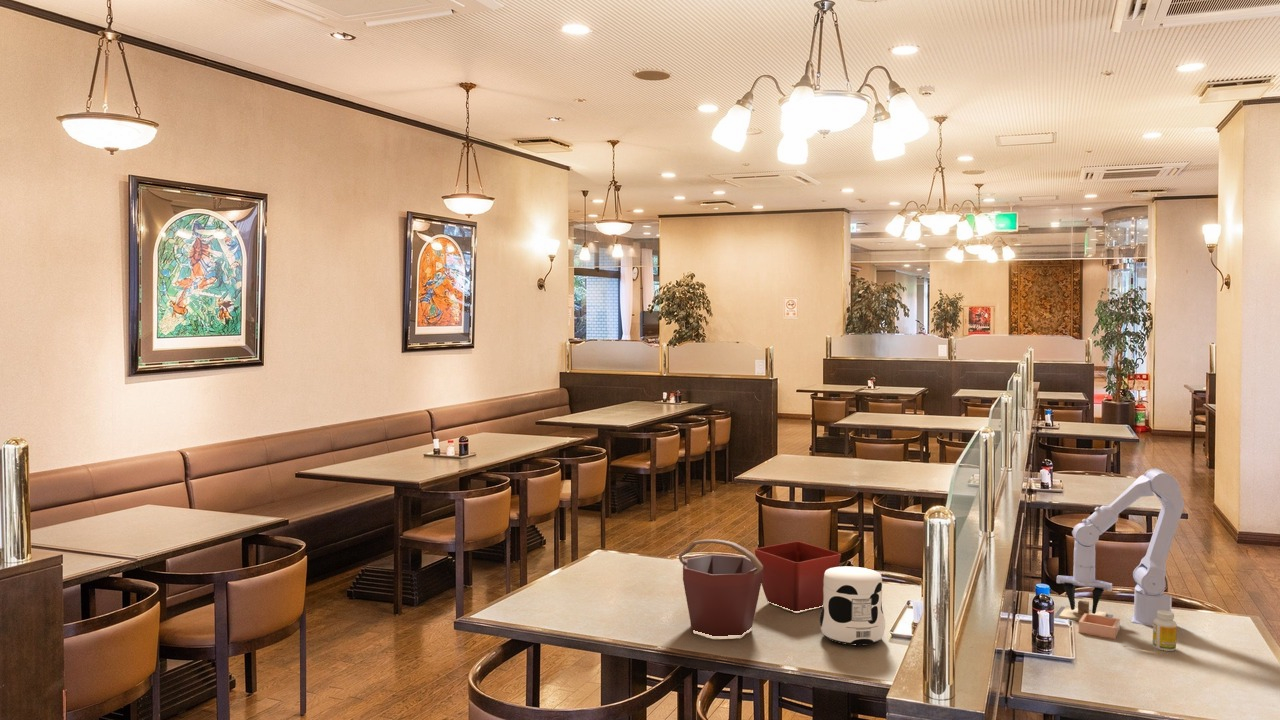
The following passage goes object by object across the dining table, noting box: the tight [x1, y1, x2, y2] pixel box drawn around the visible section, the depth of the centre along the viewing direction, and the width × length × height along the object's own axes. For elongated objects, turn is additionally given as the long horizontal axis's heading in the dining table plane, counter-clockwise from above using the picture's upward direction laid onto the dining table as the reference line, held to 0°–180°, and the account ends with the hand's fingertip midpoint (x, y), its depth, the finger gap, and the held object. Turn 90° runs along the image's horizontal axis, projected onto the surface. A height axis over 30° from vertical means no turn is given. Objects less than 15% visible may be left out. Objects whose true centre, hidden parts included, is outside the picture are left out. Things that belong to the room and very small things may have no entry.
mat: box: [1054, 605, 1114, 622], centre depth 264 cm, size 14×12×1 cm
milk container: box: [819, 565, 886, 646], centre depth 245 cm, size 17×17×18 cm
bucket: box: [677, 538, 763, 636], centre depth 253 cm, size 24×22×25 cm
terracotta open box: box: [1078, 613, 1121, 640], centre depth 251 cm, size 9×9×4 cm
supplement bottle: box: [1152, 610, 1178, 652], centre depth 239 cm, size 5×5×10 cm
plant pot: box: [754, 540, 842, 611], centre depth 274 cm, size 19×19×17 cm
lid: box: [1059, 600, 1108, 622], centre depth 264 cm, size 11×11×4 cm
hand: (1083, 610), depth 264 cm, fingers open, 5 cm apart
